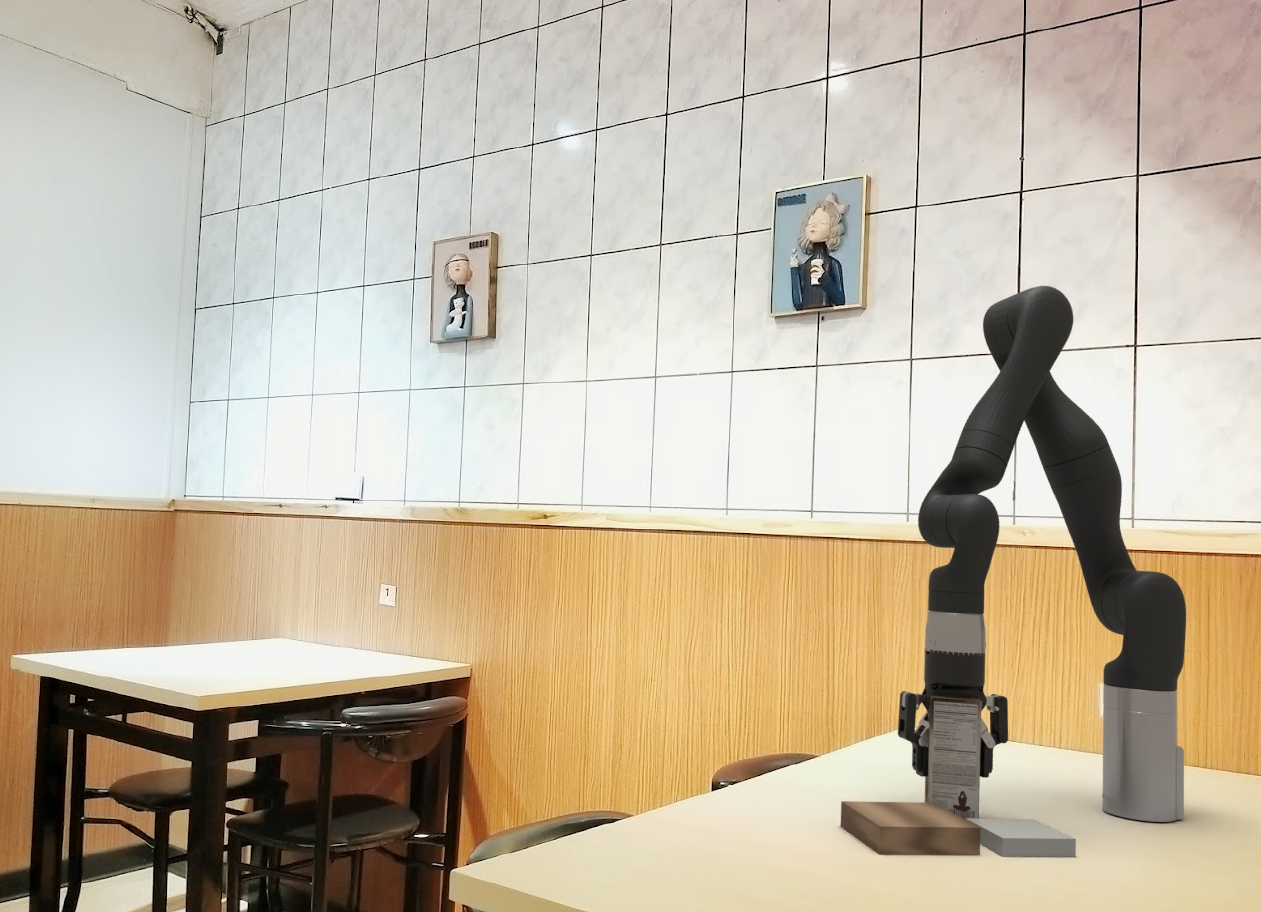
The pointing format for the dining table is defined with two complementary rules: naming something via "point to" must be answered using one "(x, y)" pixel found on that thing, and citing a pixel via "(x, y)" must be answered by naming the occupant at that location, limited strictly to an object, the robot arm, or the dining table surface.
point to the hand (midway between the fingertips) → (952, 775)
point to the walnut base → (910, 828)
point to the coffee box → (954, 754)
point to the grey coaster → (1023, 838)
